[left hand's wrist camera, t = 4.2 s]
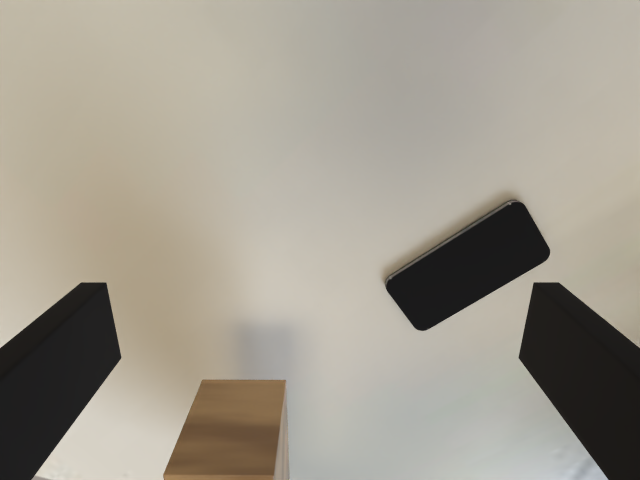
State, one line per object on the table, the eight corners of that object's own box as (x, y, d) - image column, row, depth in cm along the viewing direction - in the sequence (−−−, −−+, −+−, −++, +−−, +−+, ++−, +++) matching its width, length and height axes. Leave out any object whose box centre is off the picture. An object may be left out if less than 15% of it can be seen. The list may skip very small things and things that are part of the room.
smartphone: (381, 283, 40) (520, 196, 37) (380, 280, 41) (516, 195, 38) (420, 335, 42) (554, 256, 39) (418, 331, 43) (550, 254, 40)
